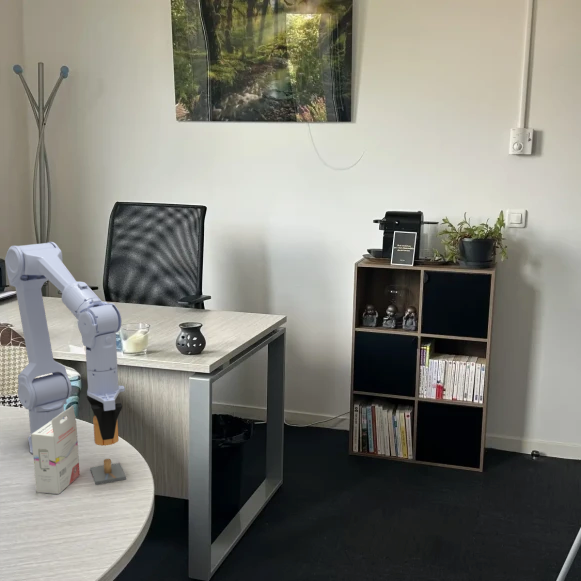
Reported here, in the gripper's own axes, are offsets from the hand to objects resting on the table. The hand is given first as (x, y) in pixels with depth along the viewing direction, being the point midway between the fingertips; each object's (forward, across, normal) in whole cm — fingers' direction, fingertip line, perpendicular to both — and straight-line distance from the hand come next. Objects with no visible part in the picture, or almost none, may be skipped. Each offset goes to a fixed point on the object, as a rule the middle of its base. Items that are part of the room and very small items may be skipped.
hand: (105, 434), depth 143 cm
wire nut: (+1, 0, 0) cm, 1 cm away
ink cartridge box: (+9, 0, +10) cm, 13 cm away
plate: (+8, 0, 0) cm, 8 cm away
